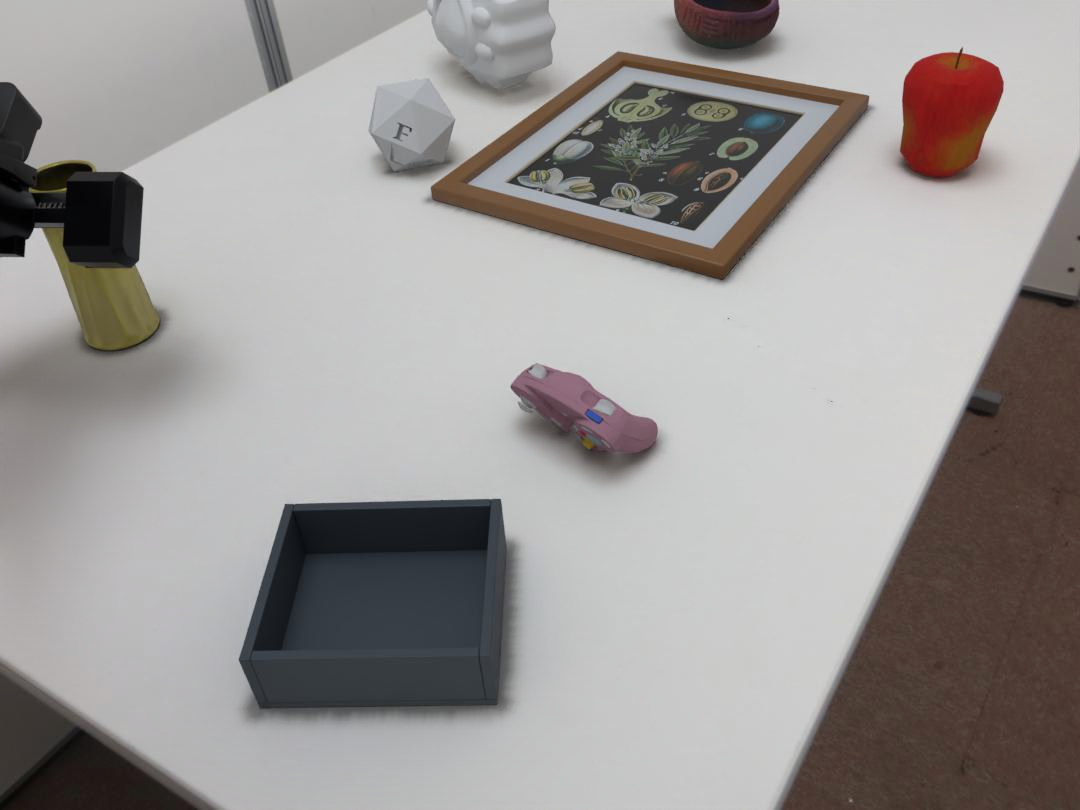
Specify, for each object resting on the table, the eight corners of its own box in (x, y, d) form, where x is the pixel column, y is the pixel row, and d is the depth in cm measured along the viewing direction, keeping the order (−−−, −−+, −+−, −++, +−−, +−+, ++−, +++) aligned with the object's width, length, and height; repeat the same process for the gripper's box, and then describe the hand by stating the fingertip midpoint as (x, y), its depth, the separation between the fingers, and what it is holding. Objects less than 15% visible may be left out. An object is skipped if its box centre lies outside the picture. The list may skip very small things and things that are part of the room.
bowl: (787, 30, 125) (794, -36, 120) (762, 68, 116) (768, -1, 111) (666, 19, 130) (668, -45, 125) (634, 55, 121) (634, -12, 116)
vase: (95, 312, 85) (29, 161, 75) (166, 305, 85) (110, 152, 76) (77, 355, 80) (5, 199, 71) (153, 347, 80) (91, 190, 71)
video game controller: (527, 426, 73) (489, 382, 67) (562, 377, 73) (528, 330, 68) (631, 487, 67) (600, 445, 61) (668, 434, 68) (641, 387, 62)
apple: (996, 161, 96) (1028, 41, 88) (958, 195, 91) (989, 72, 84) (913, 138, 100) (937, 22, 93) (873, 170, 96) (895, 50, 88)
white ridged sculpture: (493, 48, 126) (481, -87, 115) (572, 92, 114) (566, -54, 104) (417, 70, 122) (397, -68, 111) (491, 118, 110) (477, -31, 99)
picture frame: (429, 186, 95) (617, 50, 119) (431, 199, 96) (617, 62, 120) (723, 265, 82) (870, 94, 106) (722, 280, 83) (867, 107, 106)
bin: (259, 708, 54) (238, 660, 51) (300, 552, 62) (284, 503, 59) (497, 704, 53) (490, 656, 50) (506, 547, 62) (501, 498, 59)
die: (357, 167, 104) (350, 119, 94) (392, 99, 106) (388, 45, 97) (431, 199, 104) (432, 154, 94) (464, 129, 106) (468, 79, 97)
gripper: (79, 59, 59) (197, 144, 75) (-199, 63, 62) (-28, 145, 77) (66, 240, 59) (189, 288, 74) (-214, 237, 61) (-38, 285, 76)
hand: (76, 247), depth 75 cm, fingers open, 9 cm apart
